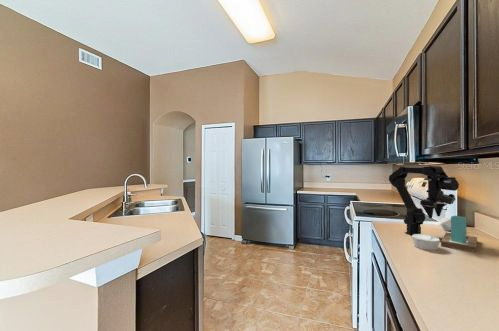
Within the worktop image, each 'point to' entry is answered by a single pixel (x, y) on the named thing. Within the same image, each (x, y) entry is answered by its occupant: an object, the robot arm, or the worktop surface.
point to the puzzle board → (467, 246)
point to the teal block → (458, 229)
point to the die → (446, 224)
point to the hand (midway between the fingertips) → (434, 217)
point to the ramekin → (425, 242)
